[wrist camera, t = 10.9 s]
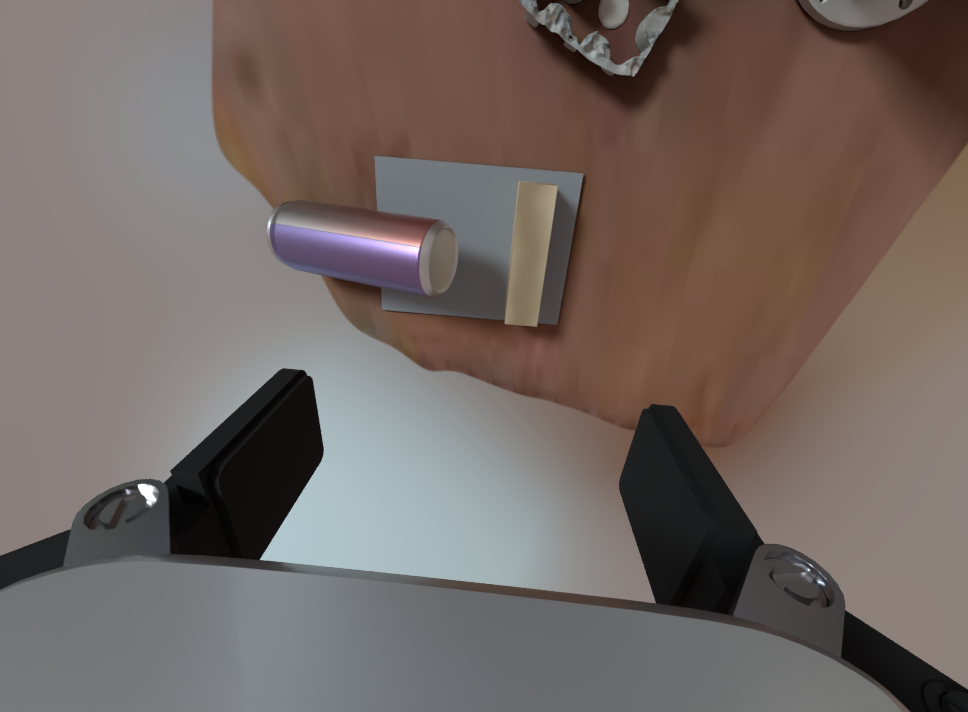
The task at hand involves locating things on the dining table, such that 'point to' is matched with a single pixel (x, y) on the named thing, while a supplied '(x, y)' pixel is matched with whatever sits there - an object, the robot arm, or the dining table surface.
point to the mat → (477, 230)
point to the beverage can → (365, 246)
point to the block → (529, 251)
